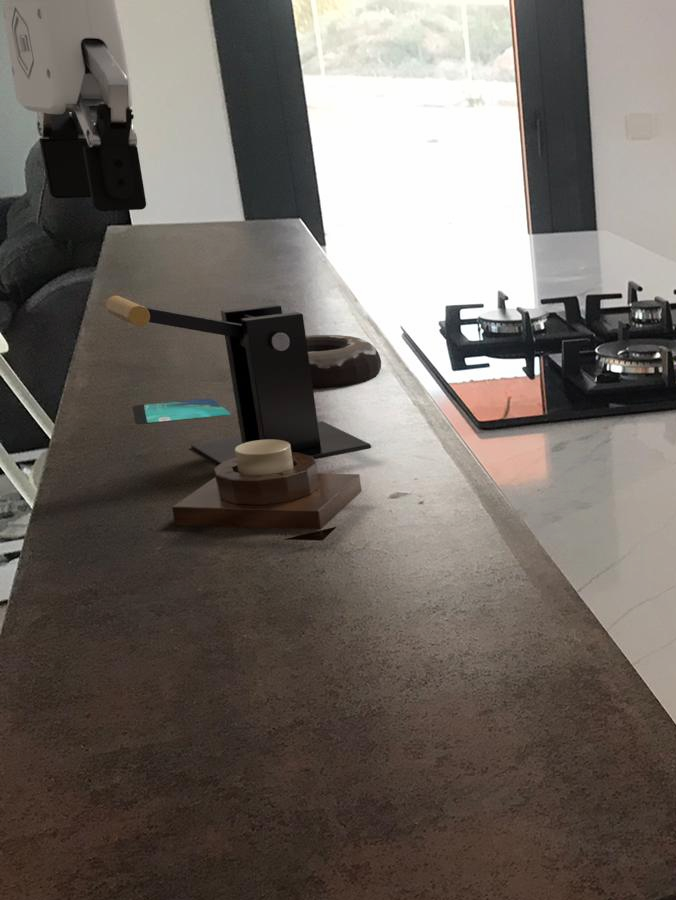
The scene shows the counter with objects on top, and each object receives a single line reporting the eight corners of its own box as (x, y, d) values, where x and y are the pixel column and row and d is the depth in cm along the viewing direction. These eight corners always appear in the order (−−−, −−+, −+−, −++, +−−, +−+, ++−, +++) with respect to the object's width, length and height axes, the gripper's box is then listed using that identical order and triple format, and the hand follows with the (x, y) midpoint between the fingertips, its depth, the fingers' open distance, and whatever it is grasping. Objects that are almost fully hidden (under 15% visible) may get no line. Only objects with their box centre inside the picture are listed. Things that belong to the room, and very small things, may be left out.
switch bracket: (236, 486, 97) (211, 330, 92) (193, 458, 103) (166, 311, 98) (372, 458, 104) (355, 312, 99) (324, 434, 110) (305, 295, 105)
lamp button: (229, 478, 88) (225, 453, 87) (251, 462, 91) (247, 438, 90) (281, 479, 88) (277, 454, 87) (301, 463, 91) (298, 439, 90)
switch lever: (126, 331, 90) (130, 297, 90) (103, 319, 94) (107, 287, 93) (293, 359, 99) (298, 328, 99) (267, 348, 103) (271, 318, 102)
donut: (264, 372, 129) (258, 333, 128) (385, 367, 132) (381, 329, 131) (249, 401, 119) (242, 359, 118) (381, 396, 122) (376, 354, 120)
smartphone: (319, 407, 115) (133, 425, 108) (320, 415, 115) (135, 433, 109) (307, 389, 121) (130, 404, 114) (308, 396, 121) (132, 413, 114)
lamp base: (177, 537, 87) (166, 481, 86) (229, 498, 94) (220, 446, 93) (322, 541, 87) (314, 485, 85) (363, 502, 94) (356, 450, 93)
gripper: (-51, -72, 86) (3, 195, 92) (21, -88, 74) (76, 218, 81) (72, -62, 90) (114, 191, 97) (157, -76, 79) (199, 212, 85)
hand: (97, 203), depth 89 cm, fingers open, 9 cm apart
